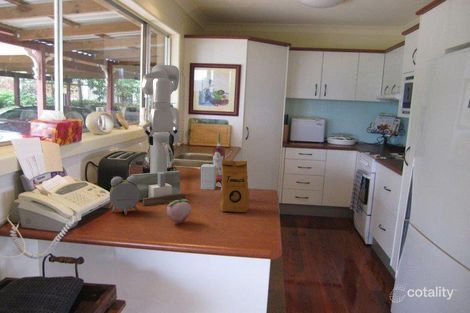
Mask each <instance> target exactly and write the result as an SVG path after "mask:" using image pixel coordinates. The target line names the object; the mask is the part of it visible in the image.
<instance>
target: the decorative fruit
mask: <svg viewBox="0 0 470 313" xmlns="http://www.w3.org/2000/svg"><path fill="white" fill-rule="evenodd" d="M190 203H191V201H190V200H188V199H186V198H185V199H181V200H176V201H173V202H169V204H168V205H167V207H166V213H167V216H168V219H169V220H171V221H172V222H173V223H176V224H181V223H183V222H185V221H186V220H187V219H188V218H189V217H190V215H191V213H192V206H191V205H190Z"/></svg>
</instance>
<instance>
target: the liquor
mask: <svg viewBox="0 0 470 313" xmlns="http://www.w3.org/2000/svg"><path fill="white" fill-rule="evenodd" d="M222 137H223V134H222V133H217V134H216V138H217V142H216V147H214V148H213V149H212V164H213V165H216V183H222V169H223V168H222V160H225V159H226V149H225V148H224V147H223V145H222Z"/></svg>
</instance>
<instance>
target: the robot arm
mask: <svg viewBox="0 0 470 313" xmlns="http://www.w3.org/2000/svg"><path fill="white" fill-rule="evenodd" d="M151 68H152V69H151V72H149V73H148V72H147V73H146V74H144V75H143V77H142V81H141V90H142V92H143V94H144V95H147V96H150V113H149V119H148V120H149V121H148V123H146V124H144V125H143V126H142V129H143V132H144V133H145V135H147V137H148V138H147V140H148V141H147V142H148V145H149V160H150V161H149V162H150V164H149V173H157V172H168V161H167V160H168V150H167V148H166V146H165V145H164V144H165V143H168V144H169V145H174V143H175V144H176V143H178V142H179V141H180V135H181V134H180V132H181V130H180V112H179V111H180V110H179V109H178V108H177V107H174V105H173V104H171V95H172V93H173V92H176V91H177V90H178V88H179V83H180V74H181V73H180V70H179V67H178V66H176V65H174V64H173V65H171V64H155V65H154V66H152V67H151ZM163 143H164V144H163Z"/></svg>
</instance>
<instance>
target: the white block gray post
mask: <svg viewBox="0 0 470 313" xmlns="http://www.w3.org/2000/svg"><path fill="white" fill-rule="evenodd" d="M165 195H172V186H171V185H169V184H167V183H165V173H158V184H154V185H148V198H150V197H158V196H165Z"/></svg>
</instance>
